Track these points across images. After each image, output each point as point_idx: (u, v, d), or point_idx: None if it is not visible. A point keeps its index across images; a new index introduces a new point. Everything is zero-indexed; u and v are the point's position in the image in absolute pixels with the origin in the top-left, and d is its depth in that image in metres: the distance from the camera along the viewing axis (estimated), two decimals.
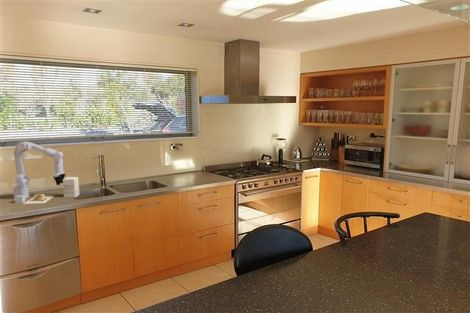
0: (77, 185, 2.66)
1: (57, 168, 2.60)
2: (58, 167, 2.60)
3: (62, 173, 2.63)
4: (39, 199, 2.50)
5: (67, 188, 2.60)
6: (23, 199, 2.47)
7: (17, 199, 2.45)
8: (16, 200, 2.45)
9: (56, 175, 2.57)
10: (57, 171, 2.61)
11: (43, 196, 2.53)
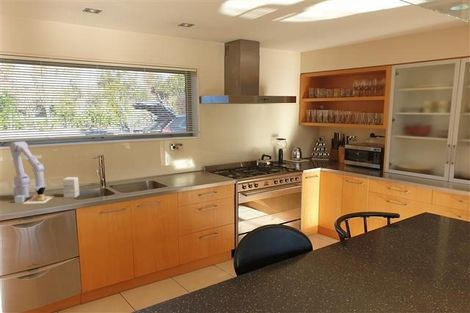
0: (77, 185, 2.66)
1: (37, 181, 2.51)
2: (39, 180, 2.51)
3: (43, 186, 2.53)
4: (39, 199, 2.49)
5: (67, 188, 2.60)
6: (23, 199, 2.47)
7: (17, 199, 2.45)
8: (16, 200, 2.45)
9: (36, 189, 2.47)
10: (37, 184, 2.51)
11: (43, 196, 2.52)
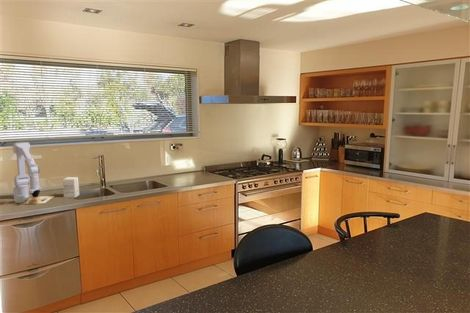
0: (77, 185, 2.66)
1: (32, 184, 2.42)
2: (33, 182, 2.42)
3: (38, 189, 2.44)
4: (34, 203, 2.41)
5: (67, 188, 2.60)
6: (23, 199, 2.47)
7: (17, 199, 2.45)
8: (16, 200, 2.45)
9: (31, 191, 2.38)
10: (32, 187, 2.42)
11: (38, 199, 2.43)
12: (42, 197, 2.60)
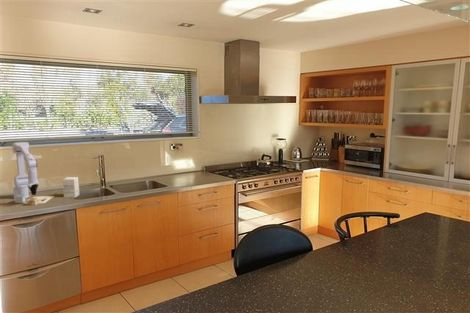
0: (77, 185, 2.66)
1: (30, 178, 2.38)
2: (31, 176, 2.39)
3: (36, 183, 2.41)
4: (32, 204, 2.39)
5: (67, 188, 2.60)
6: (23, 199, 2.47)
7: (17, 199, 2.45)
8: (16, 200, 2.45)
9: (29, 185, 2.35)
10: (30, 181, 2.39)
11: (36, 201, 2.41)
12: (42, 197, 2.60)
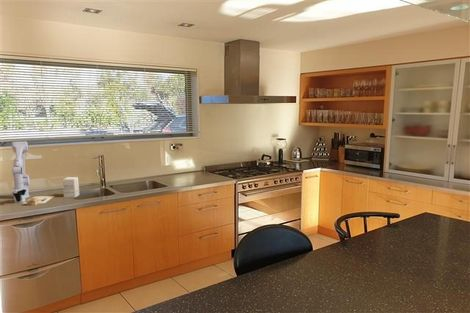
0: (77, 185, 2.66)
1: (16, 184, 2.43)
2: (17, 183, 2.43)
3: (22, 189, 2.45)
4: (32, 204, 2.39)
5: (67, 188, 2.60)
6: (23, 199, 2.47)
7: None
8: None
9: (15, 191, 2.39)
10: (16, 187, 2.43)
11: (36, 201, 2.41)
12: (42, 197, 2.60)
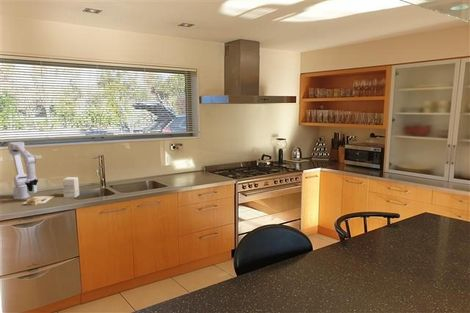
0: (77, 185, 2.66)
1: (29, 173, 2.45)
2: (30, 172, 2.45)
3: (34, 179, 2.48)
4: (32, 204, 2.39)
5: (67, 188, 2.60)
6: (35, 189, 2.49)
7: None
8: (28, 190, 2.47)
9: (27, 181, 2.42)
10: (29, 177, 2.46)
11: (36, 201, 2.41)
12: (42, 197, 2.60)
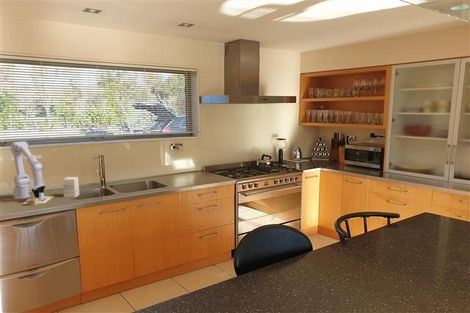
0: (77, 185, 2.66)
1: (36, 180, 2.48)
2: (37, 179, 2.48)
3: (41, 186, 2.50)
4: (32, 204, 2.39)
5: (67, 188, 2.60)
6: (42, 197, 2.52)
7: None
8: None
9: (34, 188, 2.44)
10: (36, 184, 2.48)
11: (36, 201, 2.41)
12: None
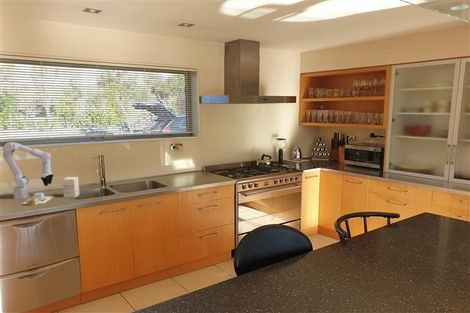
0: (77, 185, 2.66)
1: (45, 169, 2.60)
2: (46, 168, 2.60)
3: (50, 174, 2.62)
4: (32, 204, 2.39)
5: (67, 188, 2.60)
6: (42, 197, 2.52)
7: (37, 196, 2.50)
8: None
9: (43, 176, 2.56)
10: (45, 172, 2.60)
11: (36, 201, 2.41)
12: None
